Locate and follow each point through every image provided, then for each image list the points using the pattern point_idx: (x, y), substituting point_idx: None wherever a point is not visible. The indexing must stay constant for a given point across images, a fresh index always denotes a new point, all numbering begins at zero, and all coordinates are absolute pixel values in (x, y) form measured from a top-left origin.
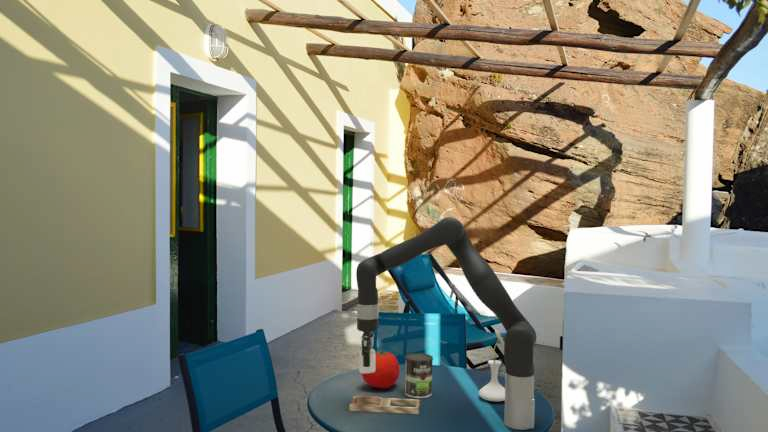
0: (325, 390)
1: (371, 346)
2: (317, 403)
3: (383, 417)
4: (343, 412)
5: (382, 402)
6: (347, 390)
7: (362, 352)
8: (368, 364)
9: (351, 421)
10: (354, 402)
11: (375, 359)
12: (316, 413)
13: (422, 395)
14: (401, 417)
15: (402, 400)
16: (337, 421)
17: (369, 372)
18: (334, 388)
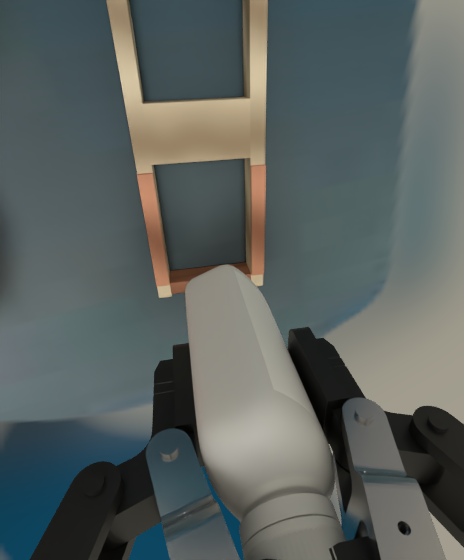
0: (69, 400)
1: (428, 517)
2: None
3: (318, 116)
4: (275, 288)
5: (205, 147)
6: (29, 338)
7: (462, 490)
8: (315, 344)
9: (358, 240)
10: None
11: (248, 328)
12: None
13: None
14: (315, 8)
15: (128, 17)
16: (356, 283)
17: (263, 297)
18: (31, 383)
